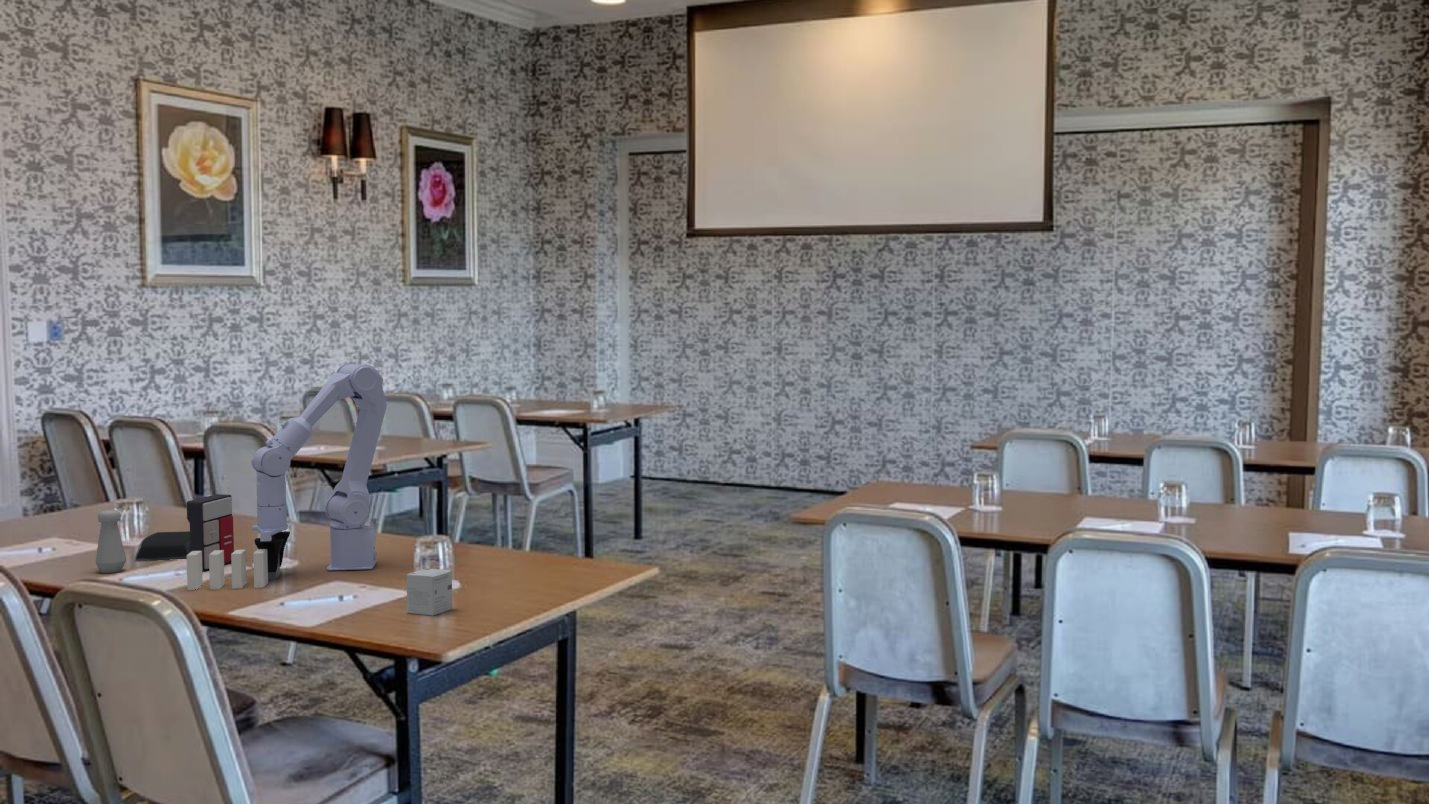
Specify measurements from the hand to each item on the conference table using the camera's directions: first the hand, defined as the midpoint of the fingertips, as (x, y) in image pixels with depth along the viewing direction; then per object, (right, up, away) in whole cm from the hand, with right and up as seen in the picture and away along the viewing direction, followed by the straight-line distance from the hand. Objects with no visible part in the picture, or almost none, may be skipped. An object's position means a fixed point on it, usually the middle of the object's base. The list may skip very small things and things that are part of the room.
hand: (273, 569), depth 252 cm
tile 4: (-8, -2, -9) cm, 12 cm away
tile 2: (0, -2, -7) cm, 8 cm away
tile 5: (-12, -2, -10) cm, 16 cm away
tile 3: (-4, -2, -8) cm, 9 cm away
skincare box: (+39, -4, -28) cm, 48 cm away
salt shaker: (-36, -1, +5) cm, 37 cm away
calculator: (-17, -1, +10) cm, 20 cm away
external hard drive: (-33, 0, +26) cm, 42 cm away
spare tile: (0, -2, 0) cm, 2 cm away
